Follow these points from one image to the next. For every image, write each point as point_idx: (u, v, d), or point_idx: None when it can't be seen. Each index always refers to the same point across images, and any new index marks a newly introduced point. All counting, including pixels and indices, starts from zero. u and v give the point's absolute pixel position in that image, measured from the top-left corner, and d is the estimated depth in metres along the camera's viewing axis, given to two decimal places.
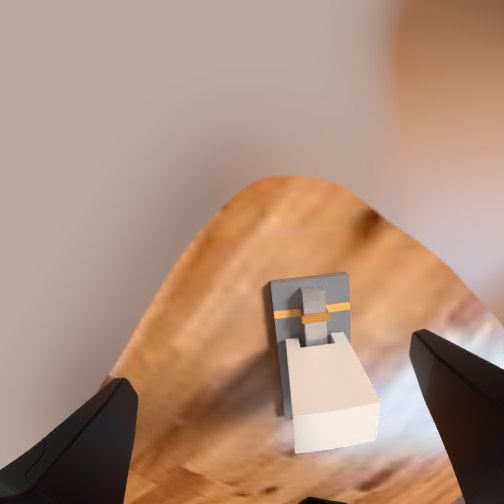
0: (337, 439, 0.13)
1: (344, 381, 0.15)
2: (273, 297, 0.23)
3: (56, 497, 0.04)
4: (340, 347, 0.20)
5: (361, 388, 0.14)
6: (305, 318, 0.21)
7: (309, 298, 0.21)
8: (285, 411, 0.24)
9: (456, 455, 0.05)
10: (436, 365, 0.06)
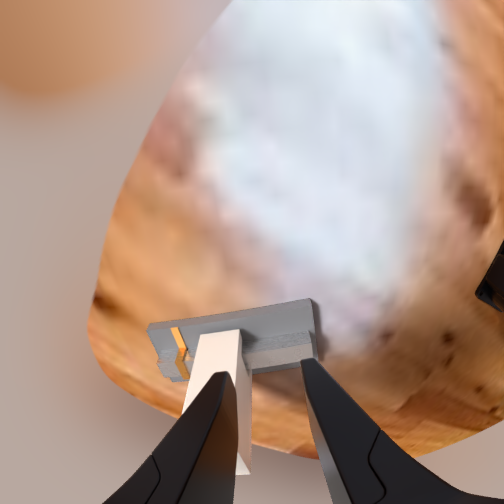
0: None
1: None
2: (182, 380, 0.24)
3: None
4: None
5: None
6: (184, 376, 0.22)
7: (167, 373, 0.22)
8: None
9: (332, 496, 0.05)
10: (308, 400, 0.06)
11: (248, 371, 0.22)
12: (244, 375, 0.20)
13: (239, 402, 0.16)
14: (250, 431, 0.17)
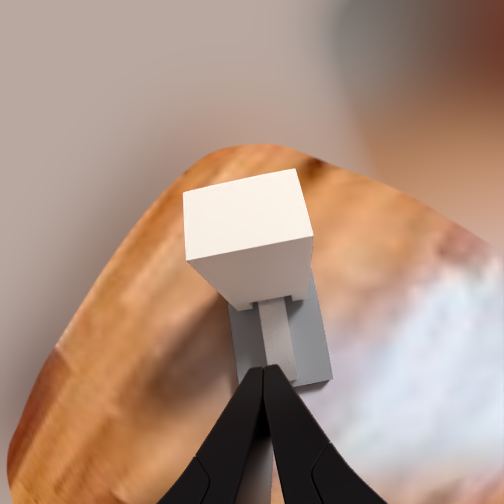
0: (247, 230, 0.11)
1: None
2: None
3: None
4: None
5: None
6: None
7: None
8: (240, 382, 0.18)
9: None
10: None
11: (250, 304, 0.19)
12: (272, 294, 0.17)
13: (286, 273, 0.14)
14: (217, 284, 0.14)
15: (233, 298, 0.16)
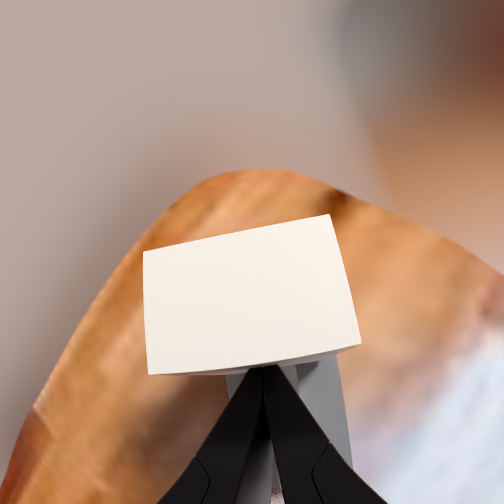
0: (248, 330, 0.06)
1: None
2: None
3: None
4: None
5: None
6: None
7: None
8: None
9: None
10: None
11: None
12: (280, 366, 0.12)
13: (304, 360, 0.09)
14: (205, 374, 0.09)
15: (229, 373, 0.12)
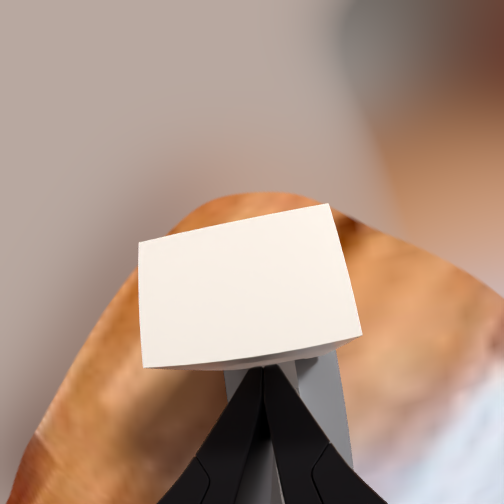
0: (244, 322, 0.06)
1: None
2: None
3: None
4: None
5: None
6: None
7: None
8: None
9: None
10: None
11: (250, 366, 0.14)
12: (279, 362, 0.12)
13: (303, 355, 0.09)
14: (202, 369, 0.09)
15: (227, 369, 0.11)
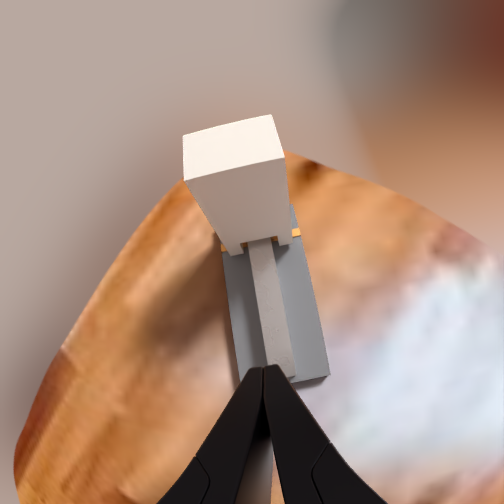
0: (232, 156, 0.13)
1: None
2: None
3: None
4: None
5: None
6: None
7: None
8: (241, 379, 0.19)
9: None
10: None
11: (241, 247, 0.21)
12: (259, 232, 0.19)
13: (268, 202, 0.16)
14: (210, 213, 0.16)
15: (225, 235, 0.19)
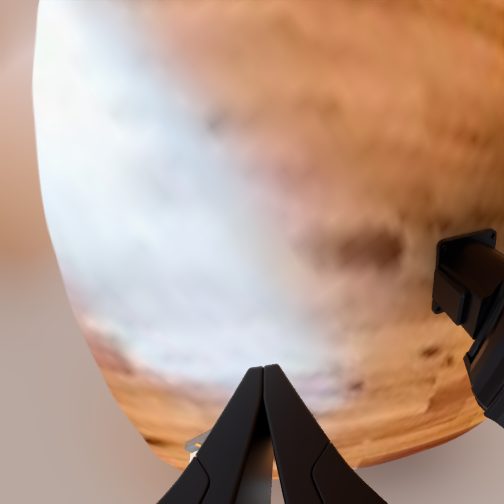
0: None
1: None
2: None
3: None
4: None
5: None
6: None
7: None
8: None
9: None
10: None
11: None
12: None
13: None
14: None
15: None
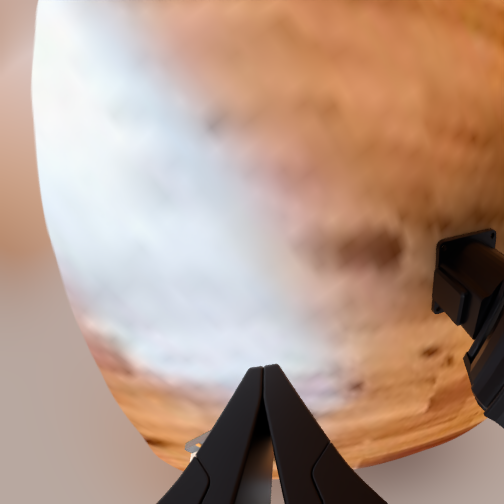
0: None
1: None
2: None
3: None
4: None
5: None
6: None
7: None
8: None
9: None
10: None
11: None
12: None
13: None
14: None
15: None
